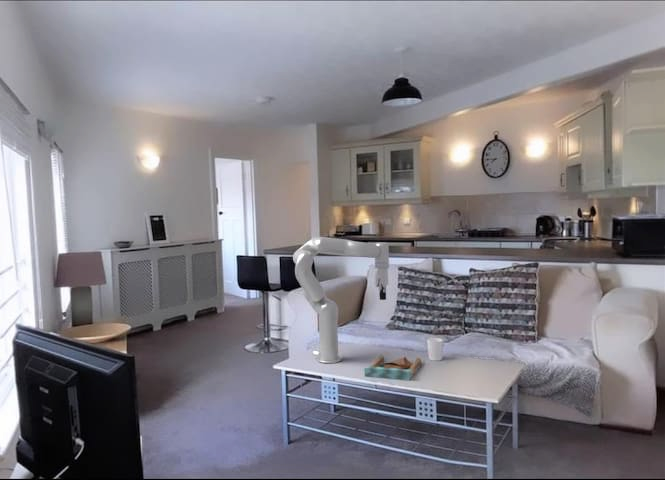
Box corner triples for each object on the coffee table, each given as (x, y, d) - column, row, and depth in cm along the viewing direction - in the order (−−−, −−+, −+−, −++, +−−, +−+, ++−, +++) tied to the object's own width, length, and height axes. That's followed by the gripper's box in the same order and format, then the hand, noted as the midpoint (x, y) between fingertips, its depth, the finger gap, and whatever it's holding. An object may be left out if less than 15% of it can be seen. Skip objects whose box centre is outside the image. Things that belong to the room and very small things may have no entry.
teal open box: (364, 376, 228) (364, 367, 228) (380, 360, 253) (380, 352, 253) (409, 380, 220) (409, 371, 220) (421, 363, 245) (421, 355, 245)
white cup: (443, 361, 247) (442, 341, 246) (427, 361, 248) (427, 341, 248) (443, 357, 255) (442, 337, 254) (427, 356, 256) (427, 337, 256)
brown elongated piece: (394, 374, 229) (388, 361, 231) (384, 379, 233) (378, 366, 235) (418, 366, 241) (412, 353, 243) (408, 370, 245) (402, 358, 248)
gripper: (379, 264, 272) (379, 297, 272) (371, 267, 258) (372, 301, 259) (392, 264, 269) (393, 297, 270) (385, 267, 255) (386, 302, 256)
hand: (382, 299), depth 264 cm, fingers closed
